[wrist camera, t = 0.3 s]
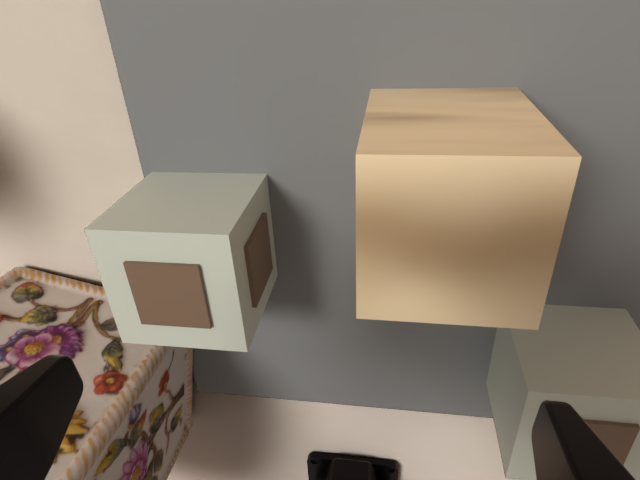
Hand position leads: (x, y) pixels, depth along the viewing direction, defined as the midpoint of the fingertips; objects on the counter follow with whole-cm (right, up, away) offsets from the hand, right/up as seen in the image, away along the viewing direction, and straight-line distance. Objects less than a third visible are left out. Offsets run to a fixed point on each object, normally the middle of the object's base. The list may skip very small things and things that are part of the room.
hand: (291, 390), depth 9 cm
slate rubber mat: (+5, +3, +15) cm, 16 cm away
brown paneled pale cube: (-5, +4, +16) cm, 17 cm away
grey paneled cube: (+13, -3, +17) cm, 22 cm away
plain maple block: (+6, +7, +12) cm, 15 cm away
